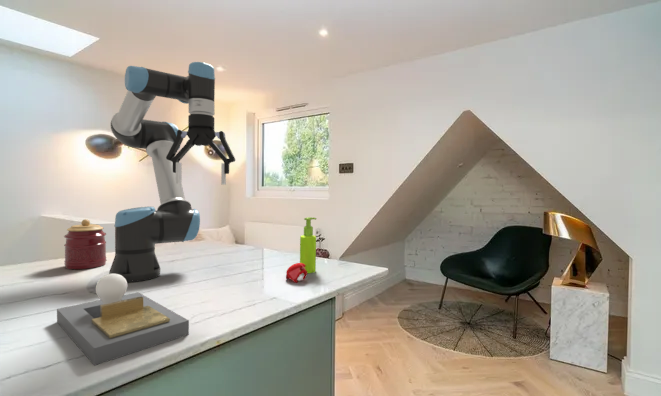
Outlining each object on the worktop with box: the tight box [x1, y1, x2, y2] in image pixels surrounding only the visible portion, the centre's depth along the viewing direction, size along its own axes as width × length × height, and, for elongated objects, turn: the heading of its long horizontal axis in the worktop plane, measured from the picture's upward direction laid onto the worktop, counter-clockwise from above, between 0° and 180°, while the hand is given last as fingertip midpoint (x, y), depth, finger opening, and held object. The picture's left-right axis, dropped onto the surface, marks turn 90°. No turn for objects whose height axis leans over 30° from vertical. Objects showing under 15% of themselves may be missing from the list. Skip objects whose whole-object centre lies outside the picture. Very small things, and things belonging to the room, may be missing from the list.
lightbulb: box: [95, 273, 128, 305], centre depth 78 cm, size 6×6×11 cm
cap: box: [285, 262, 308, 283], centre depth 115 cm, size 8×6×6 cm
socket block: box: [56, 291, 190, 366], centre depth 75 cm, size 28×17×3 cm, turn 49°
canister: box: [63, 218, 107, 270], centre depth 129 cm, size 13×13×18 cm
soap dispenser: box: [299, 216, 317, 274], centre depth 128 cm, size 6×7×20 cm
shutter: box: [92, 296, 170, 338], centre depth 71 cm, size 11×11×3 cm
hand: (201, 184), depth 106 cm, fingers open, 13 cm apart
